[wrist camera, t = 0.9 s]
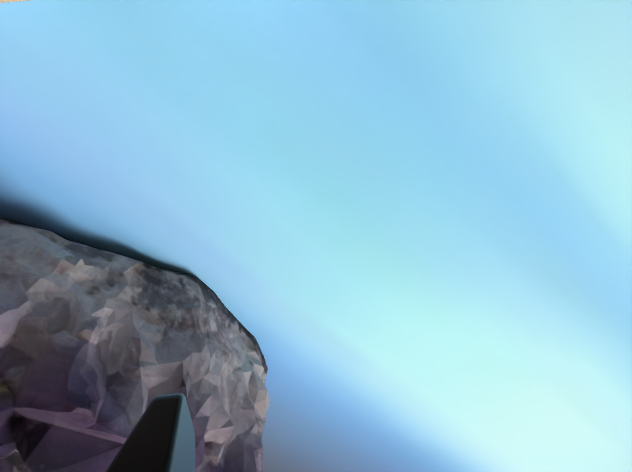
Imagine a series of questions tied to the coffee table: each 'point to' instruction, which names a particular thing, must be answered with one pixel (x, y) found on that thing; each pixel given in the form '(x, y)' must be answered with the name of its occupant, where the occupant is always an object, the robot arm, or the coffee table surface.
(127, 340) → the geode
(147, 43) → the coffee table surface
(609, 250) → the coffee table surface
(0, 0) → the panel
